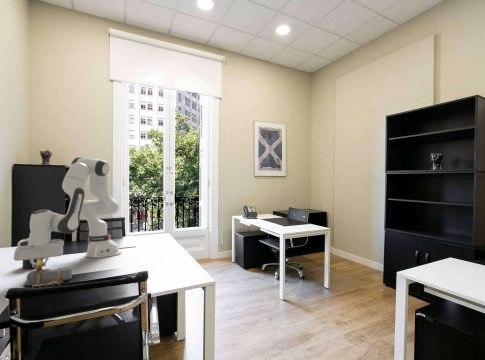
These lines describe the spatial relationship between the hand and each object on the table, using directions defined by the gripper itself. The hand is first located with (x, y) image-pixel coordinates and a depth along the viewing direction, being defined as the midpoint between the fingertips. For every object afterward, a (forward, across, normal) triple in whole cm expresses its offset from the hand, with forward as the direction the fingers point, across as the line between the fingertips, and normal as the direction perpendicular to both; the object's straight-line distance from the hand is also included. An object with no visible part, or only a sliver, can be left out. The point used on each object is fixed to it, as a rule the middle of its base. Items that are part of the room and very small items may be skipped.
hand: (39, 266), depth 132 cm
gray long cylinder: (+6, -6, +8) cm, 12 cm away
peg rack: (+7, -5, +8) cm, 12 cm away
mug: (+7, +6, -26) cm, 27 cm away
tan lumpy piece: (+7, 0, 0) cm, 7 cm away
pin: (+3, 0, 0) cm, 3 cm away
